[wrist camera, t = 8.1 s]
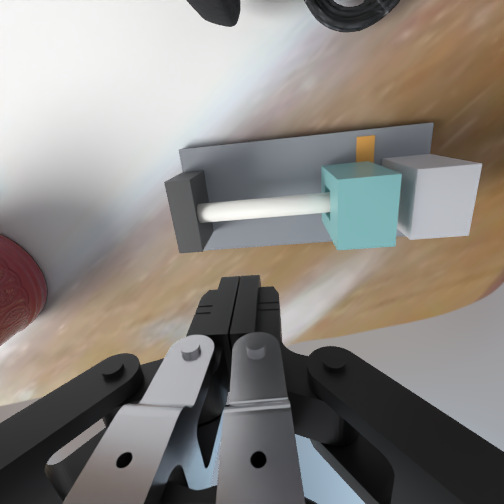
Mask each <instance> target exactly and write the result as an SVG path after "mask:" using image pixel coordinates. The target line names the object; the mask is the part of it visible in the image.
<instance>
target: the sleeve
mask: <svg viewBox="0 0 504 504" xmlns="http://www.w3.org/2000/svg"><path fill="white" fill-rule="evenodd" d="M401 178H402V174H401V173H398V172H396V171H393V170H391V169H388V168H385V167H383V166H380V165H377V164H375V163H372V162H369V161H364V162H354V163H344V164H333V165H323V166H321V192H322V193H327V192H330V212H328V213H322V222H323V224H324V226H325V228H326V229H327V231H328V233H329V235H330V237H331V239H332V241H333V243H334V245H335V247H336V249H337V250H348V249H362V248H377V247H391V246H395V244H396V233H397V222H398V211H399V200H400V189H401Z"/></svg>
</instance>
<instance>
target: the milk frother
mask: <svg viewBox="0 0 504 504" xmlns="http://www.w3.org/2000/svg"><path fill="white" fill-rule="evenodd" d="M187 1H188V3H189V4H190V5H191V6H192V7H193V8H194V9H195V10H196V11H197V12H198V13H199V14H200V15H201V17H202V18H204V19H205V20H207V21H209V22H211V23H215V24H218V25H222V26H228V27H232V26H234V25H236V23H237V21H238V18H239V14H240V0H187ZM304 1H305V3H306V5H307V6H308V8H309V10H310V11H311V13H312V14H313V15H314V17H315V18H316V19H317V20H318V21H319V22H320V23H321V24H323V25H324V26H326V27H328V28H330V29H332V30H335V31H339V32H355V31H360V30H363V29H365V28H367V27H369V26H371V25H373V24H375V23H376V22H378V21H379V20H381V19H382V18H383V17H385V16H386V15H387V14H388V13H389V12H390V11H391V10H392V9H393V8H394V7H395V6H396V5H397V4H398V3H399V1H400V0H364V3H362V4H361V5H358V6H354V7H344V6H342V5H339V4H337V3H336V2H334V1H333V0H304Z"/></svg>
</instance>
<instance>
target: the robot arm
mask: <svg viewBox="0 0 504 504" xmlns="http://www.w3.org/2000/svg"><path fill="white" fill-rule="evenodd" d="M228 392H230V396H229V405H226V402H227V396H228ZM101 418H102V419H103V421H104V424H105V426H106V428H104V429H103V430H102V431H101V432H99V433H98V434H97V435H95V436H94V437H93V438H91V439H90V440H89V441H87V442H86V443H85V444H83V445H82V446H81V447H80V448H78V449H77V450H76V451H75V452H73V453H72V454H71V455H69V456H68V457H67V458H65V459H64V460H63V461H61V462H59V463H57V464H54V465H47V464H46V463H47V461H48V460H49V458H50V457H51V456H52V455H53V454H54V453H55V452H56V451H58V450H59V449H61V448H62V447H63V446H65V445H66V444H67V443H69V442H70V441H71V440H73V439H74V438H75V437H77V436H78V435H80V434H81V433H82V432H84V431H85V430H86V429H88V428H89V427H90V426H92V425H93V424H94V423H96V422H97V421H99V420H100V419H101ZM295 434H297V435H300V436H303V437H306V438H310V440H311V442H312V444H313V446H314V448H315V449H316V450H317V451H318V452H319V453H320V455H321V456H322V457H323V458H324V459H325V460H326V461H327V462H328V463H329V464H330V465H331V467H332V468H333V469H334V470H335V471H336V472H337V473H338V474H339V475H340V476H341V477H342V479H343V480H344V481H345V482H346V483H347V484H348V485H349V486H350V487H351V488H352V489H353V490H354V491H355V493H357V495H358V496H359V497H360V498H361V499H362V500H363V501H364V502H365V504H504V452H503V451H501V450H500V449H498V448H497V447H495V446H494V445H492V444H491V443H489V442H488V441H486V440H485V439H483V438H482V437H480V436H479V435H477V434H476V433H474V432H472V431H471V430H469V429H468V428H466V427H465V426H463V425H462V424H460V423H459V422H457V421H456V420H454V419H453V418H451V417H449V416H448V415H446V414H445V413H443V412H442V411H440V410H439V409H437V408H436V407H434V406H432V405H431V404H430V403H428V402H427V401H425V400H423V399H422V398H420V397H419V396H417V395H416V394H414V393H412V392H411V391H410V390H408V389H407V388H405V387H404V386H402V385H401V384H399V383H398V382H396V381H394V380H393V379H391V378H390V377H388V376H387V375H385V374H384V373H382V372H381V371H379V370H378V369H376V368H375V367H373V366H371V365H370V364H368V363H367V362H365V361H364V360H362V359H361V358H359V357H358V356H356V355H355V354H353V353H351V352H350V351H348V350H346V349H344V348H340V347H334V346H327V347H322V348H319V349H317V350H315V351H313V352H312V353H311V354H310V355H309V356H304V355H300V354H297V353H294V352H292V351H290V350H289V349H287V348H286V347H285V346H284V345H283V343H282V333H281V317H280V304H279V293H278V292H277V291H276V289H275V288H274V287H273V286H272V287H261V282H260V276H259V275H250V276H241V277H240V276H235V277H222V278H221V281H220V284H219V287H218V290H209V291H208V292H207V293H206V294H205V295H204V296H203V297H202V298H201V300H200V303H199V305H198V308H197V310H196V314H195V315H194V318H193V320H192V323H191V325H190V328H189V330H188V333H187V336H186V337H184V338H182V339H180V340H178V341H177V342H175V343H174V344H173V345H172V346H171V347H170V349H169V351H168V352H167V354H166V356H165V358H163V359H160V360H157V361H153V362H150V363H146V364H143V365H140V362H139V359H138V358H137V357H136V356H135V355H133V354H128V353H124V354H118V355H114V356H111V357H109V358H107V359H105V360H103V361H102V362H100V363H98V364H97V365H95V366H93V367H92V368H90V369H88V370H87V371H85V372H84V373H82V374H80V375H79V376H77V377H75V378H74V379H72V380H70V381H69V382H67V383H66V384H64V385H62V386H61V387H59V388H57V389H56V390H54V391H52V392H51V393H49V394H47V395H46V396H44V397H43V398H41V399H39V400H38V401H36V402H34V403H33V404H31V405H29V406H28V407H26V408H25V409H23V410H21V411H20V412H18V413H16V414H15V415H13V416H11V417H10V418H8V419H7V420H5V421H3V422H2V423H0V504H317V503H316V502H314V501H312V500H310V499H308V498H306V497H304V492H303V485H302V479H301V472H300V467H299V459H298V453H297V446H296V440H295ZM220 442H221V447H220V459H219V471H218V483H217V485H216V486H213V487H212V477H213V472H214V467H215V463H216V459H217V455H218V450H219V446H220Z"/></svg>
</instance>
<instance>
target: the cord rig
mask: <svg viewBox="0 0 504 504" xmlns="http://www.w3.org/2000/svg"><path fill="white" fill-rule="evenodd" d="M433 125H434V123H420V124H411V125H401V126H392V127H383V128H373V129H364V130H355V131H345V132H336V133H327V134H317V135H308V136H299V137H289V138H280V139H271V140H261V141H252V142H243V143H233V144H224V145H215V146H205V147H196V148H187V149H180V150H179V154H180V159H181V165H182V170H183V173H181V174H179V175H177V176H175V177H173V178H171V179H170V180H168V181H166V182H164V183H165V188H166V192H167V197H168V201H169V206H170V211H171V215H172V220H173V225H174V229H175V234H176V239H177V243H178V248H179V252H180V253H190V252H203V251H204V250H218V249H232V248H245V247H259V246H273V245H287V244H301V243H315V242H329V241H332V239H331V237H330V235H329V233H328V231H327V229H326V228H325V226H324V224H323V222H322V213H328V212H330V192H327V193H322V192H321V166H323V165H333V164H344V163H354V162H364V161H369V162H372V163H375V164H377V165H380V166H383V167H385V168H388V169H391V170H393V171H396V172H398V173H401V174H402V178H401V189H400V200H399V211H398V222H397V233H396V237H398V236H406V237H408V238H409V239H410V240H413V239H427V238H441V237H455V236H469V231H470V225H471V220H472V215H473V210H474V205H475V199H476V194H477V189H478V184H479V179H480V173H481V168H482V163H477V162H471V161H466V160H461V159H455V158H450V157H444V156H439V155H434V154H430V149H431V141H432V133H433Z"/></svg>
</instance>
